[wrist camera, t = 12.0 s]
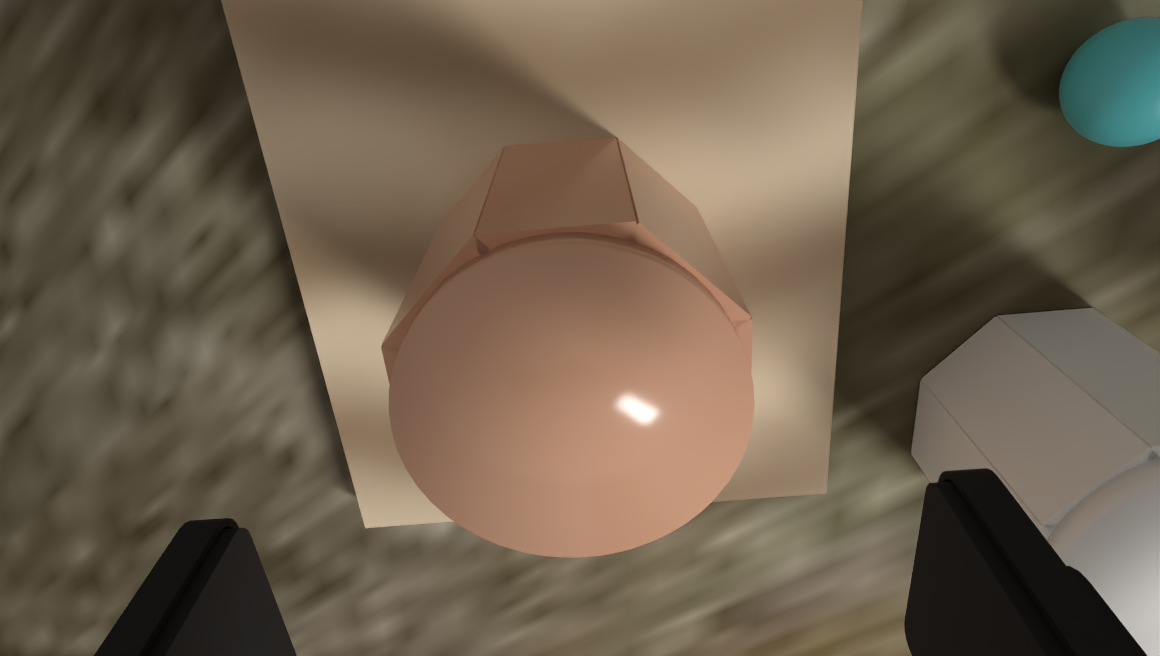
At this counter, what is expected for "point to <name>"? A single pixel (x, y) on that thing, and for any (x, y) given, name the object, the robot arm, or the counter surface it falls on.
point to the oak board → (553, 114)
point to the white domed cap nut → (1062, 443)
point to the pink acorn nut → (571, 356)
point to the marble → (1115, 85)
